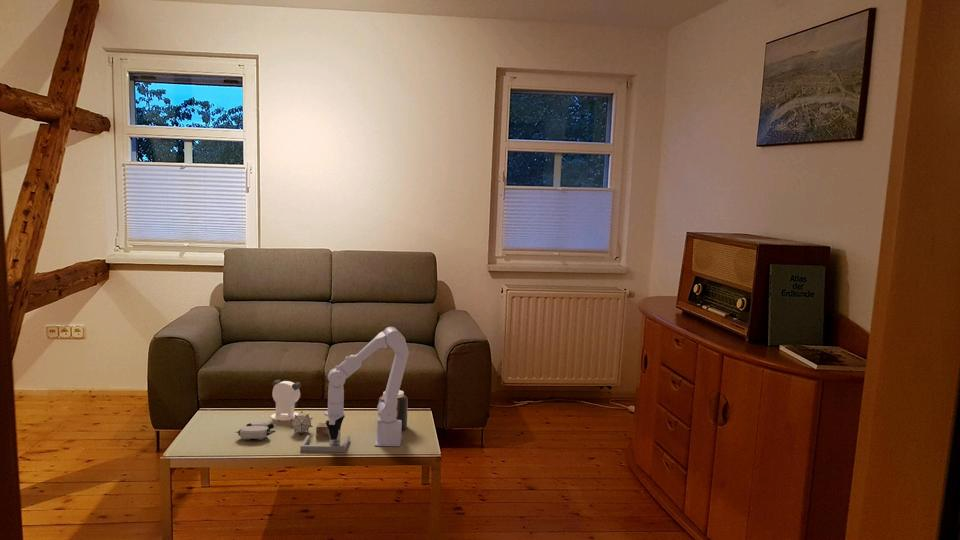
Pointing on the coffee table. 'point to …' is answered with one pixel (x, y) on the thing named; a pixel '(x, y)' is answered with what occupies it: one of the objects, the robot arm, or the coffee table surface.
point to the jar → (401, 408)
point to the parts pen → (323, 446)
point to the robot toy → (255, 430)
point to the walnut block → (322, 430)
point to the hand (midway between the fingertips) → (335, 437)
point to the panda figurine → (285, 399)
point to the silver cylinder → (335, 442)
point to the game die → (301, 422)
